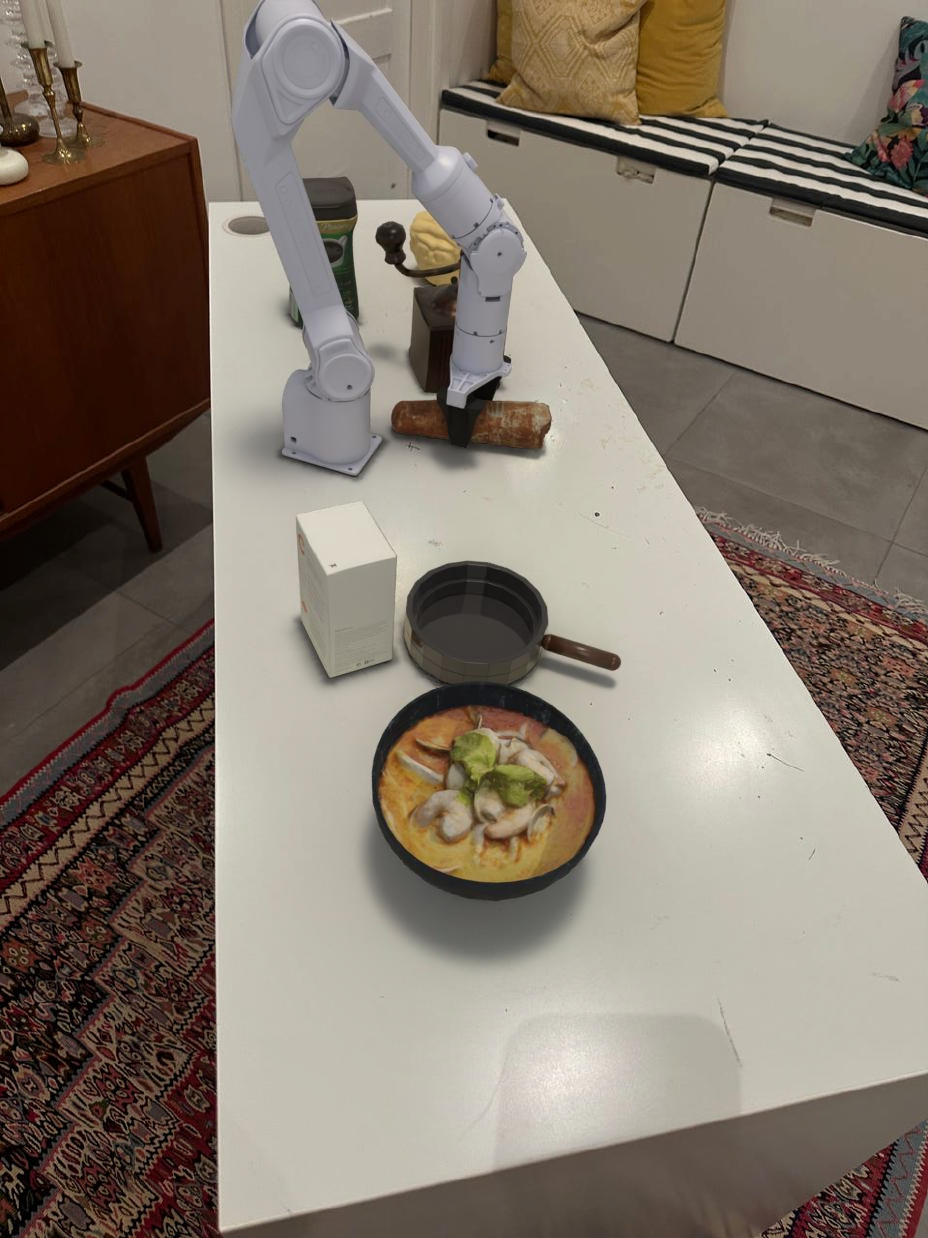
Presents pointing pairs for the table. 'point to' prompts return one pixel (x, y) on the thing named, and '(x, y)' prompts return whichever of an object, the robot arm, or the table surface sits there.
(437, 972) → the table surface
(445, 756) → the bowl
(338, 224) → the coffee jar
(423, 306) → the manual coffee grinder
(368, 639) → the small box
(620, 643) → the table surface
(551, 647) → the pan handle
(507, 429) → the bread
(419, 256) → the sculpture
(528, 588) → the pan
